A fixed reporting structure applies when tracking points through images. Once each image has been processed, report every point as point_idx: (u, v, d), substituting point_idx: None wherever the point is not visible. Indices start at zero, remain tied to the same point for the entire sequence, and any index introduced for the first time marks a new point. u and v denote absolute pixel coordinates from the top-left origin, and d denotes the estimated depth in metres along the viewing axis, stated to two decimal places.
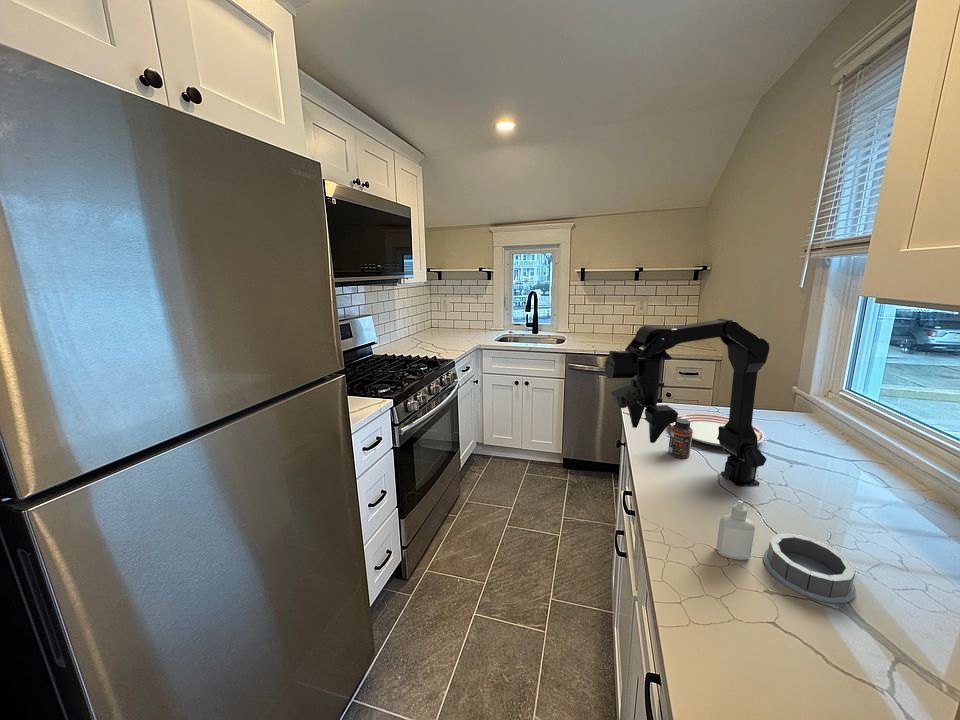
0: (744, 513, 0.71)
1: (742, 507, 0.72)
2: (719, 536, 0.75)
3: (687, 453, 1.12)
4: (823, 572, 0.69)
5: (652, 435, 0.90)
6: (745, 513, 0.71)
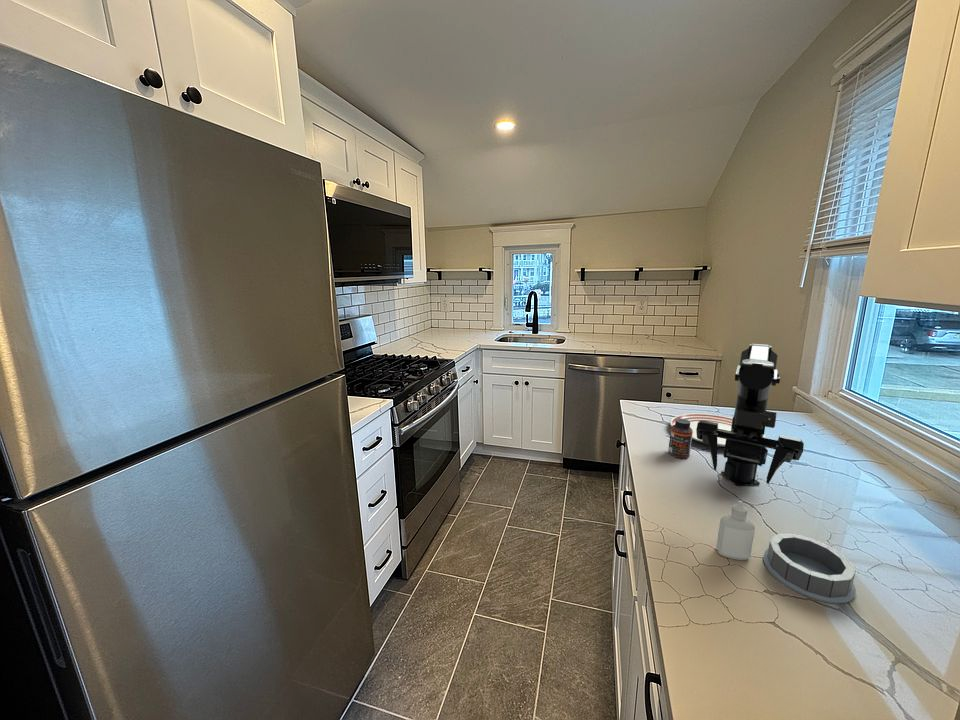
0: (744, 513, 0.71)
1: (742, 507, 0.72)
2: (719, 536, 0.75)
3: (687, 453, 1.12)
4: (823, 572, 0.69)
5: (774, 472, 0.76)
6: (745, 513, 0.71)
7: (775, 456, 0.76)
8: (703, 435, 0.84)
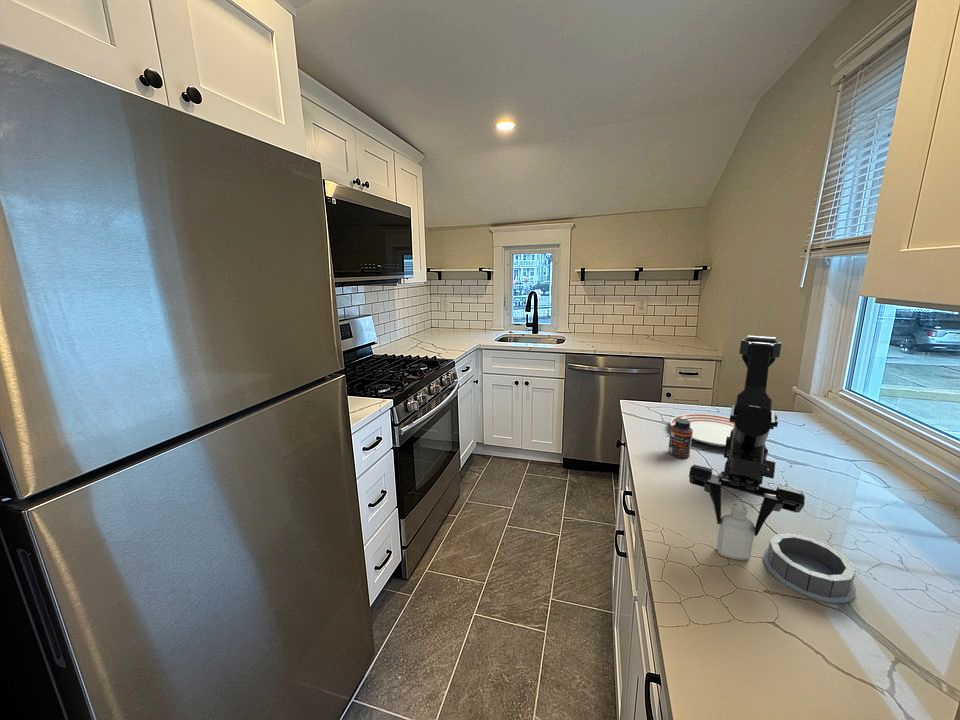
0: (744, 513, 0.71)
1: (742, 507, 0.72)
2: (719, 536, 0.75)
3: (687, 453, 1.12)
4: (823, 572, 0.69)
5: None
6: (745, 513, 0.71)
7: (763, 506, 0.71)
8: (705, 484, 0.77)
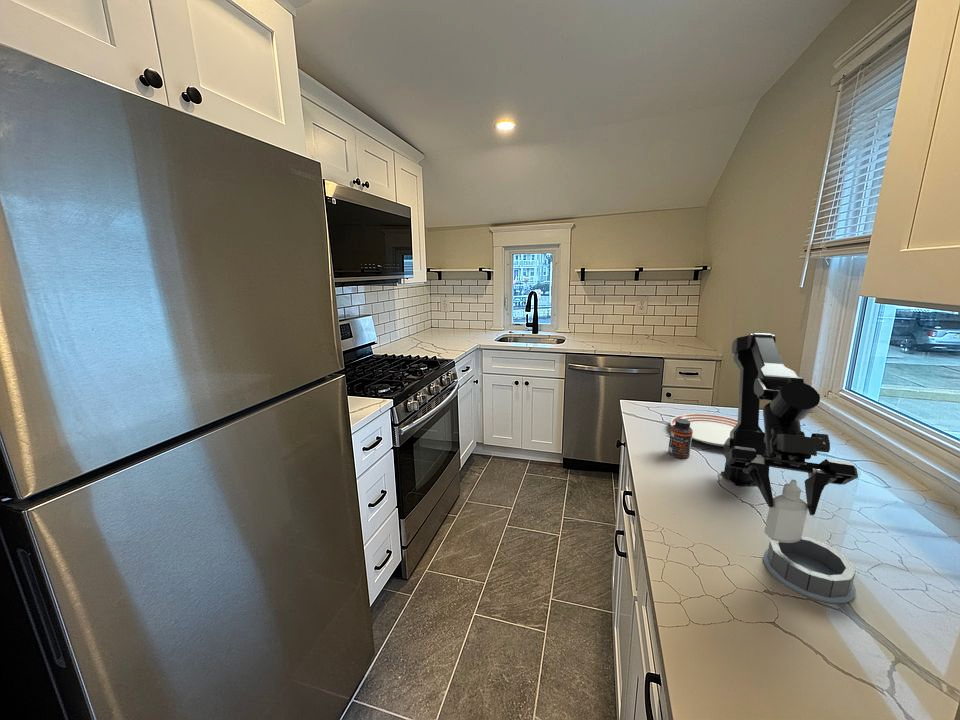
0: (799, 492, 0.66)
1: (796, 486, 0.67)
2: (770, 520, 0.69)
3: (687, 453, 1.12)
4: (823, 572, 0.69)
5: None
6: (799, 492, 0.67)
7: (816, 482, 0.67)
8: (751, 466, 0.71)
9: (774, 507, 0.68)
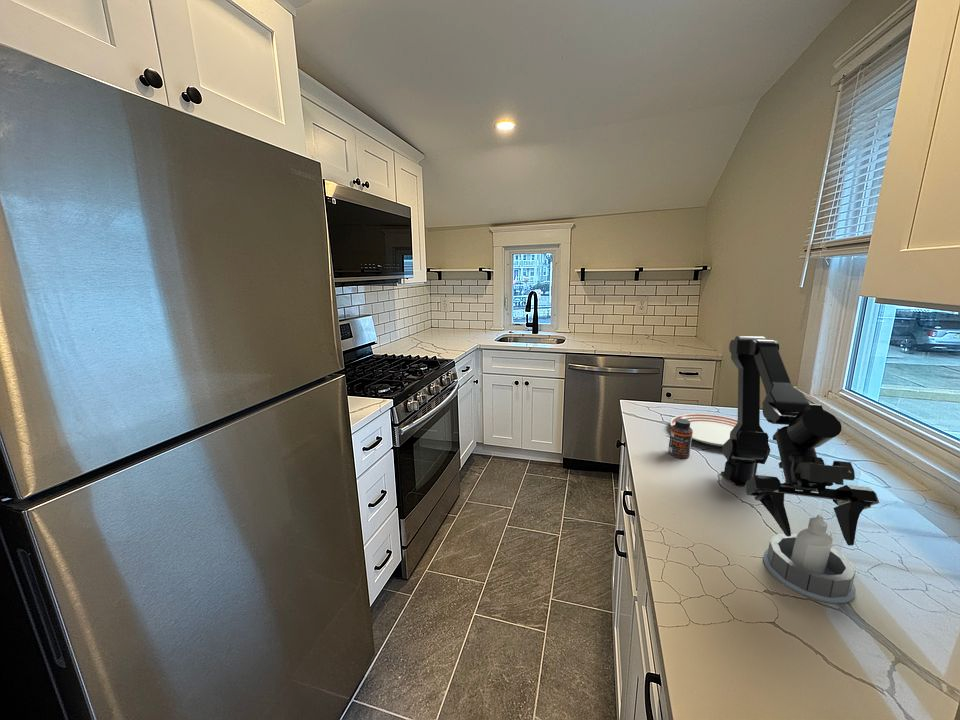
0: (826, 527, 0.66)
1: (823, 521, 0.66)
2: (797, 555, 0.68)
3: (687, 453, 1.12)
4: None
5: None
6: (826, 527, 0.66)
7: (851, 511, 0.66)
8: (766, 494, 0.70)
9: (802, 543, 0.67)
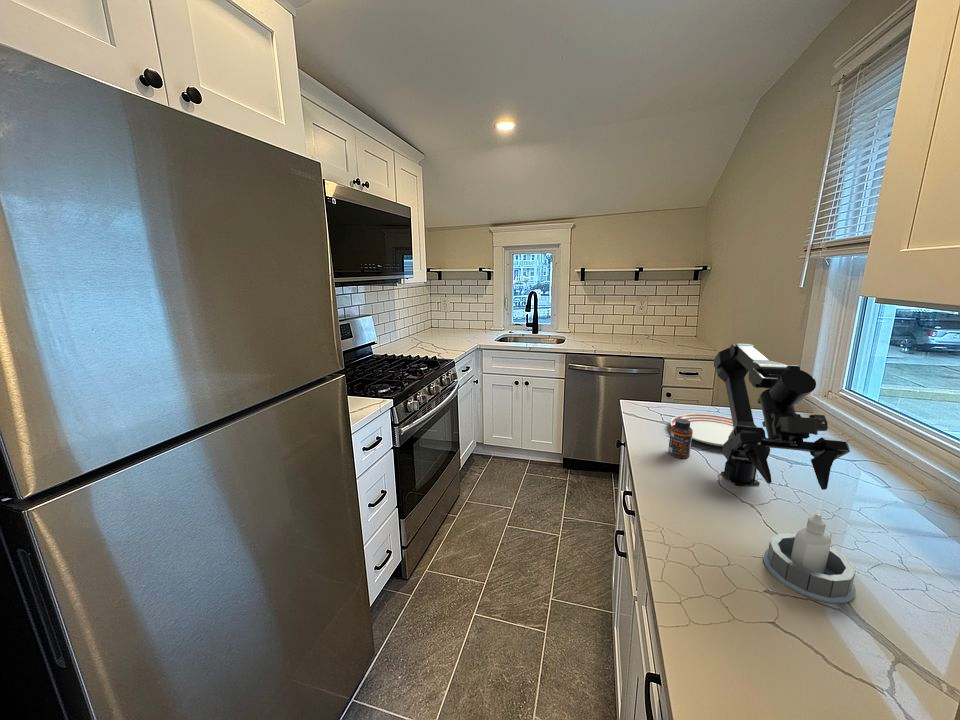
0: (824, 526, 0.66)
1: (821, 520, 0.67)
2: (796, 555, 0.68)
3: (687, 453, 1.12)
4: None
5: None
6: None
7: (825, 460, 0.74)
8: (749, 447, 0.78)
9: (801, 542, 0.68)
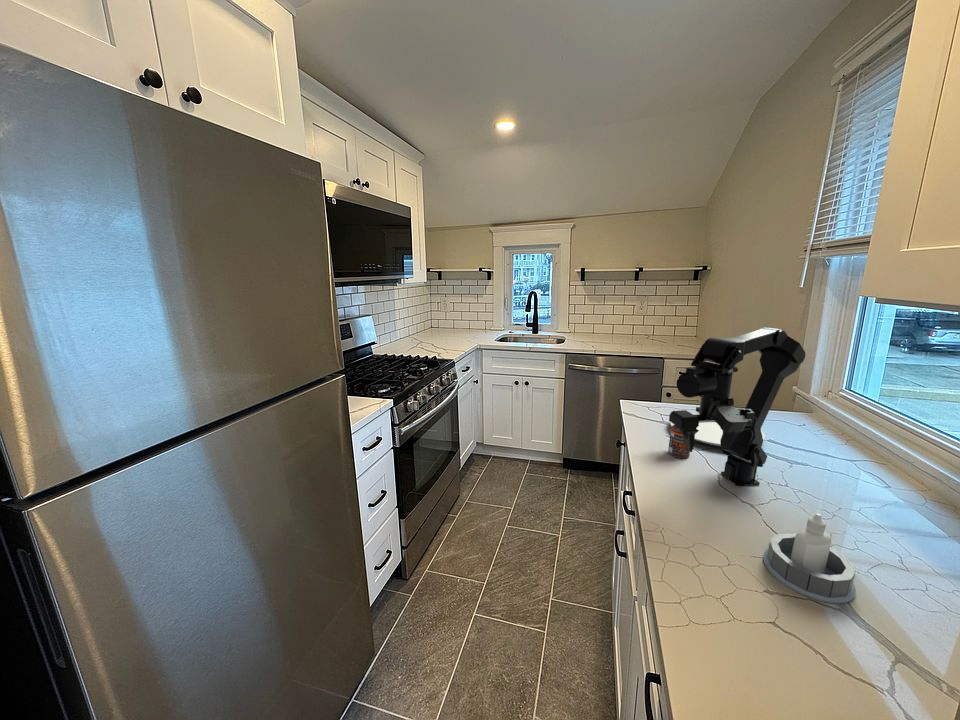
0: (824, 526, 0.66)
1: (821, 520, 0.67)
2: (796, 555, 0.68)
3: (687, 453, 1.12)
4: None
5: None
6: (825, 526, 0.67)
7: (735, 432, 0.90)
8: None
9: (801, 542, 0.68)
